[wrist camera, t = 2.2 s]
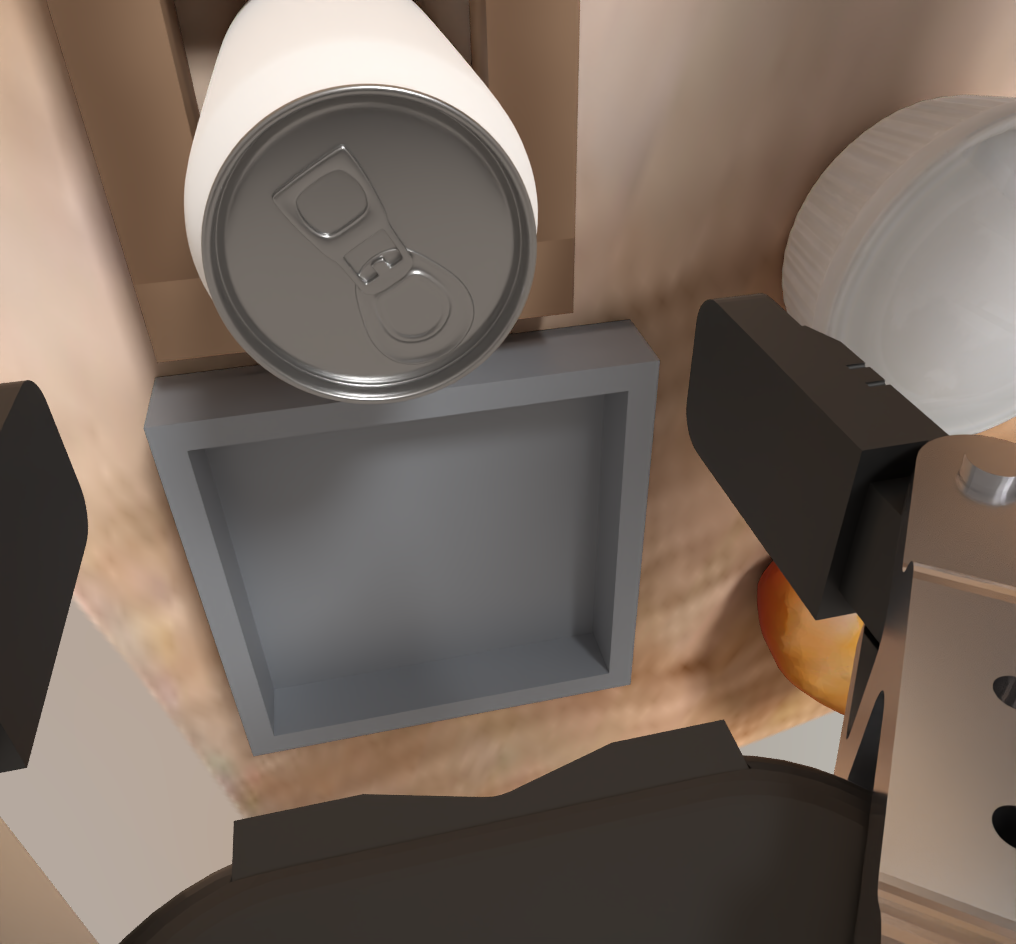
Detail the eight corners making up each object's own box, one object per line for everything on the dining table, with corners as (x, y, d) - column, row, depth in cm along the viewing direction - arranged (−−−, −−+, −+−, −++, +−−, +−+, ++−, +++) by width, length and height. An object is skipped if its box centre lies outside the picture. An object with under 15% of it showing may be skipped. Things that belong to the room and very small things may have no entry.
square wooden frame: (556, -190, 21) (584, -193, 19) (553, 280, 29) (573, 312, 27) (21, -176, 19) (-9, -177, 17) (166, 324, 27) (157, 362, 25)
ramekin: (1104, 64, 28) (1246, 102, 24) (980, 363, 35) (1075, 434, 31) (795, 61, 26) (892, 102, 22) (724, 380, 33) (788, 459, 29)
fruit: (749, 693, 42) (822, 763, 34) (711, 540, 41) (777, 577, 33) (903, 646, 43) (1010, 705, 35) (869, 494, 42) (970, 519, 34)
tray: (630, 319, 30) (660, 360, 28) (609, 633, 40) (630, 684, 37) (155, 377, 28) (143, 427, 25) (255, 698, 37) (253, 756, 35)
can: (319, 252, 26) (341, 481, 17) (163, 61, 23) (78, 219, 13) (495, 128, 25) (623, 298, 16) (361, -95, 21) (425, -45, 12)
